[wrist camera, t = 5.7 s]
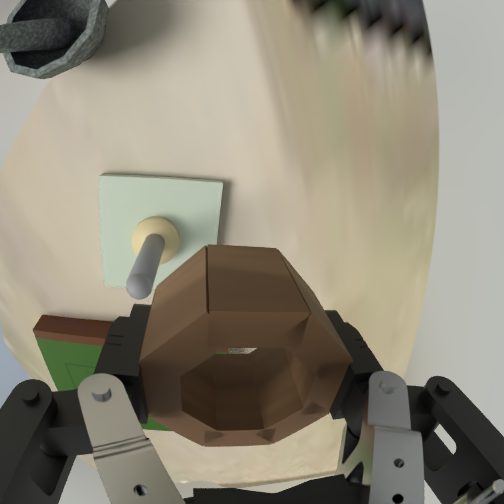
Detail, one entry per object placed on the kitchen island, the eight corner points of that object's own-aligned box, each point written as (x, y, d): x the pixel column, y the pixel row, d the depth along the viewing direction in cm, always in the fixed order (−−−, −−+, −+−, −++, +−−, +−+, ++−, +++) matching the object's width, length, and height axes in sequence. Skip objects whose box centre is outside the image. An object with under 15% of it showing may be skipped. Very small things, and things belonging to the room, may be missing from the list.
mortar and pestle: (118, -17, 19) (77, -70, 8) (129, 60, 23) (81, 31, 12) (24, 26, 18) (-44, 6, 8) (31, 100, 22) (-44, 105, 12)
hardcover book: (225, 323, 37) (227, 343, 34) (221, 413, 45) (222, 431, 41) (39, 311, 33) (28, 329, 30) (73, 401, 41) (68, 418, 37)
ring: (155, 241, 10) (131, 306, 7) (323, 251, 11) (372, 310, 8) (160, 369, 13) (153, 443, 9) (293, 370, 14) (317, 439, 10)
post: (102, 173, 27) (52, 206, 17) (222, 180, 29) (230, 217, 19) (106, 281, 32) (75, 346, 22) (211, 289, 34) (215, 359, 24)
